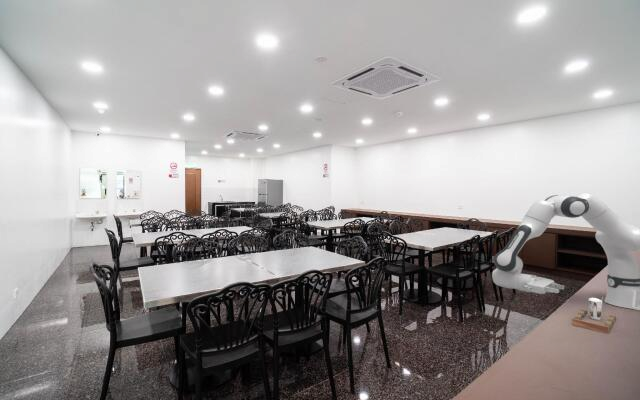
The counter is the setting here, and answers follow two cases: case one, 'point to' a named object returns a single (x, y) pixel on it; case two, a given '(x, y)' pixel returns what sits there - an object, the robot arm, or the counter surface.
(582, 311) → the rail guide
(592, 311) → the milkshake
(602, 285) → the counter surface
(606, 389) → the counter surface
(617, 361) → the counter surface
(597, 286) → the counter surface
